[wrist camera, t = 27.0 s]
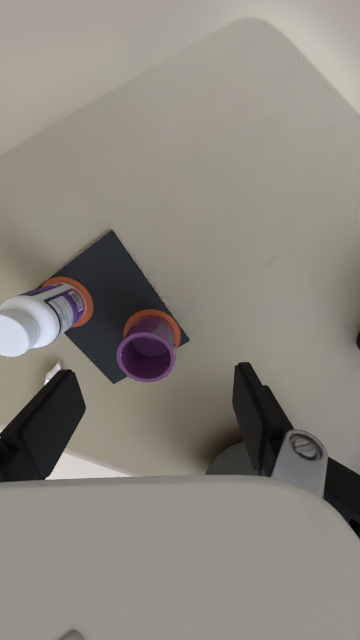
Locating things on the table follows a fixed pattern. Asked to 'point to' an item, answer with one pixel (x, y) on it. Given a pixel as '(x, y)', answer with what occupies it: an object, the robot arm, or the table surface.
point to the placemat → (110, 302)
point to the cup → (148, 349)
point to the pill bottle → (39, 317)
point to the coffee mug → (358, 340)
